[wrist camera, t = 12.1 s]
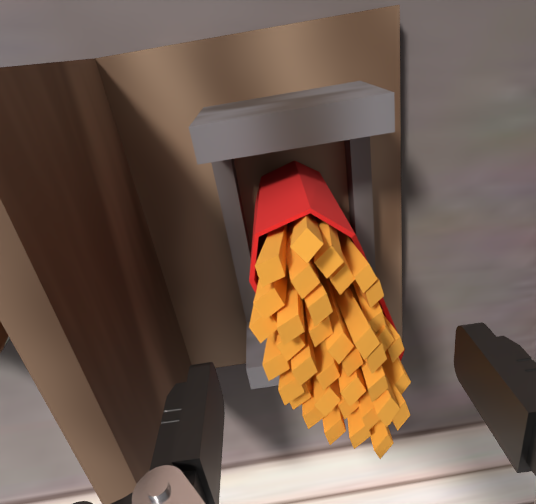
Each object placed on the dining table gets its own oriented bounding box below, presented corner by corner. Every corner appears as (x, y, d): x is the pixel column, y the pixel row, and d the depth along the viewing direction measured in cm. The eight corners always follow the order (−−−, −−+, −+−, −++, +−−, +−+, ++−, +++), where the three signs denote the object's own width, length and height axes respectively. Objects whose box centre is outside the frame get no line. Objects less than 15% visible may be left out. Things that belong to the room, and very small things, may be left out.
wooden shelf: (163, 361, 30) (112, 547, 19) (59, 65, 21) (-155, 90, 10) (395, 326, 30) (483, 498, 18) (389, 7, 21) (555, -36, 9)
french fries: (361, 263, 25) (455, 449, 14) (298, 290, 26) (336, 488, 14) (302, 126, 21) (362, 223, 10) (229, 162, 22) (207, 291, 11)
